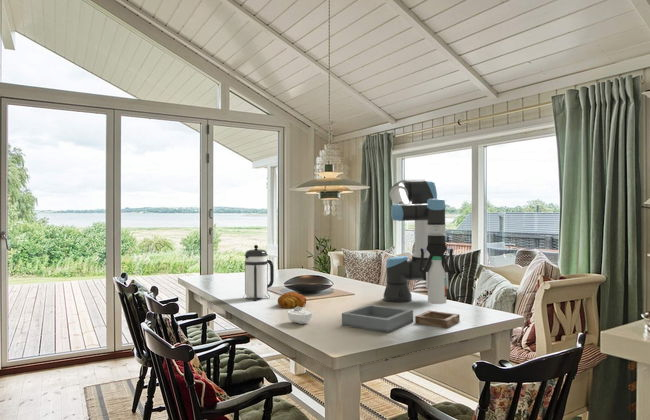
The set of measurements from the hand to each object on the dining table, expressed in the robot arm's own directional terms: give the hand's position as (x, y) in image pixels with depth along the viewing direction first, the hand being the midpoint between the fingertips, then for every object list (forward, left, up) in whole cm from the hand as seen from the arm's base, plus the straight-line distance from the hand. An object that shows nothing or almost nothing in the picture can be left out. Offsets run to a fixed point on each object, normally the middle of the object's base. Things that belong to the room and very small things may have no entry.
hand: (437, 288), depth 192 cm
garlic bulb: (+34, -48, -15) cm, 61 cm away
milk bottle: (0, 0, -6) cm, 6 cm away
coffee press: (+3, -105, -15) cm, 106 cm away
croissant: (+8, -75, -15) cm, 77 cm away
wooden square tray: (0, 0, -15) cm, 15 cm away
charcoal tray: (+16, -20, -15) cm, 29 cm away
